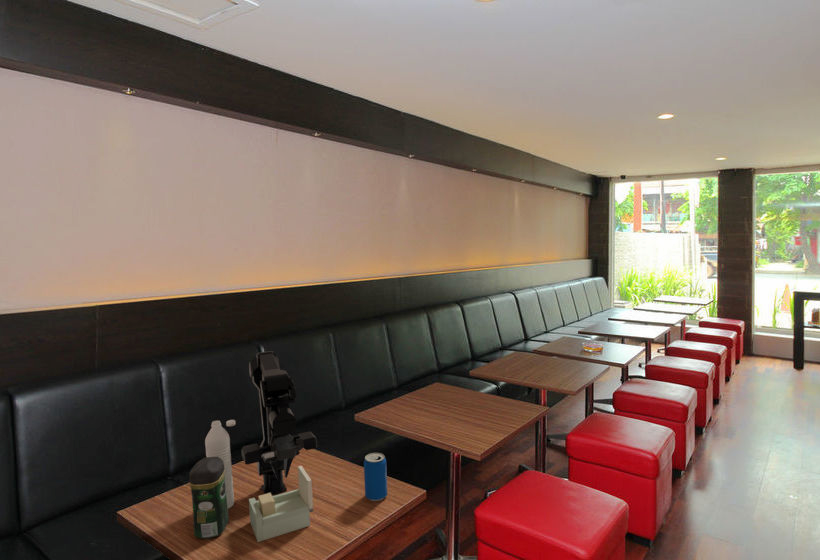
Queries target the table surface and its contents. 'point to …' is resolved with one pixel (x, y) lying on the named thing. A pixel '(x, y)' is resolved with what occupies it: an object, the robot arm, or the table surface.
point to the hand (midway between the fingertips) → (281, 478)
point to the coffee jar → (209, 497)
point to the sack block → (266, 505)
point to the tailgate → (305, 487)
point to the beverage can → (375, 476)
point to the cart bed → (279, 516)
